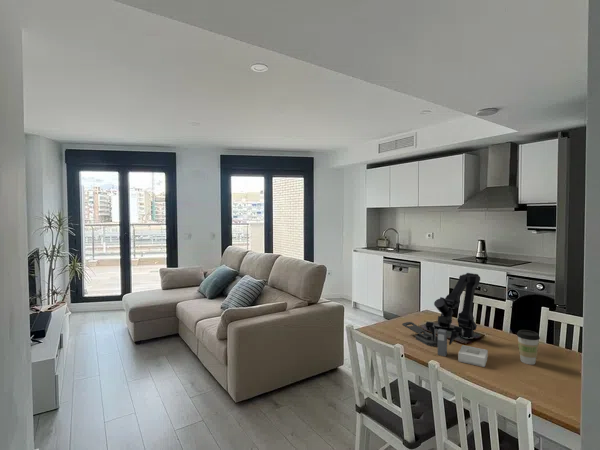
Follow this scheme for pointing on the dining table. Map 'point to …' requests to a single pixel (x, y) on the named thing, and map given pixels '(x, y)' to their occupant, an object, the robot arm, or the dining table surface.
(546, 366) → the dining table surface
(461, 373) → the dining table surface
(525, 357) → the coffee cup
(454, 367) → the dining table surface
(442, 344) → the bracket post
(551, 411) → the dining table surface
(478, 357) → the block
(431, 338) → the zipper pull
